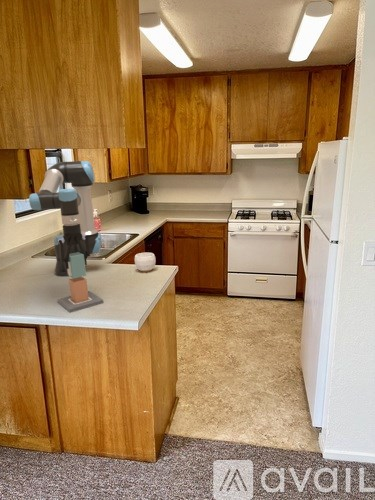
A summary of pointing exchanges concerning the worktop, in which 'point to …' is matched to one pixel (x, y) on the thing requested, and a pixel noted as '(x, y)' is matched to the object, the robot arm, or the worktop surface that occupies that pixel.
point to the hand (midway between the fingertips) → (77, 273)
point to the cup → (145, 261)
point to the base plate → (74, 306)
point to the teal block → (77, 265)
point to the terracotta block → (78, 289)
